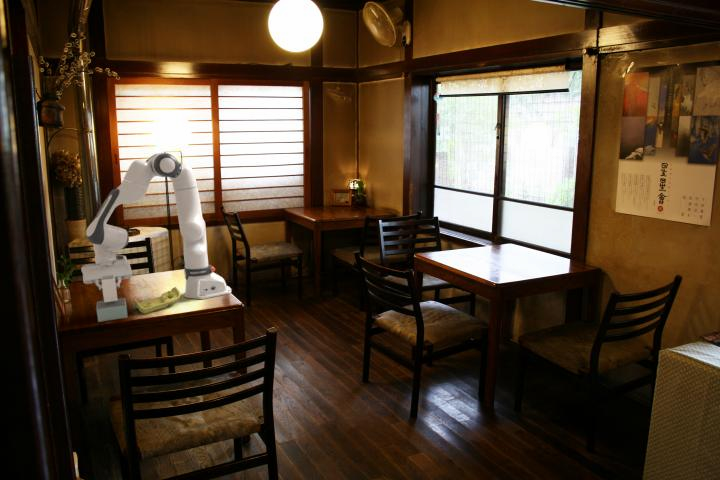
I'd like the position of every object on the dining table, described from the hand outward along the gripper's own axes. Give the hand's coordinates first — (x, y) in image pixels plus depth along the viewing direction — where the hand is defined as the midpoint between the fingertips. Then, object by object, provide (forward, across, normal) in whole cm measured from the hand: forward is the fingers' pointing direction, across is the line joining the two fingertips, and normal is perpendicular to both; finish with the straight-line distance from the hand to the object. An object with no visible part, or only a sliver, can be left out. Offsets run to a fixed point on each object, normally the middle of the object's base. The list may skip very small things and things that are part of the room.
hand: (109, 288), depth 263 cm
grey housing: (+3, 0, +4) cm, 5 cm away
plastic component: (+8, +20, +11) cm, 24 cm away
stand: (+9, 0, +10) cm, 13 cm away
